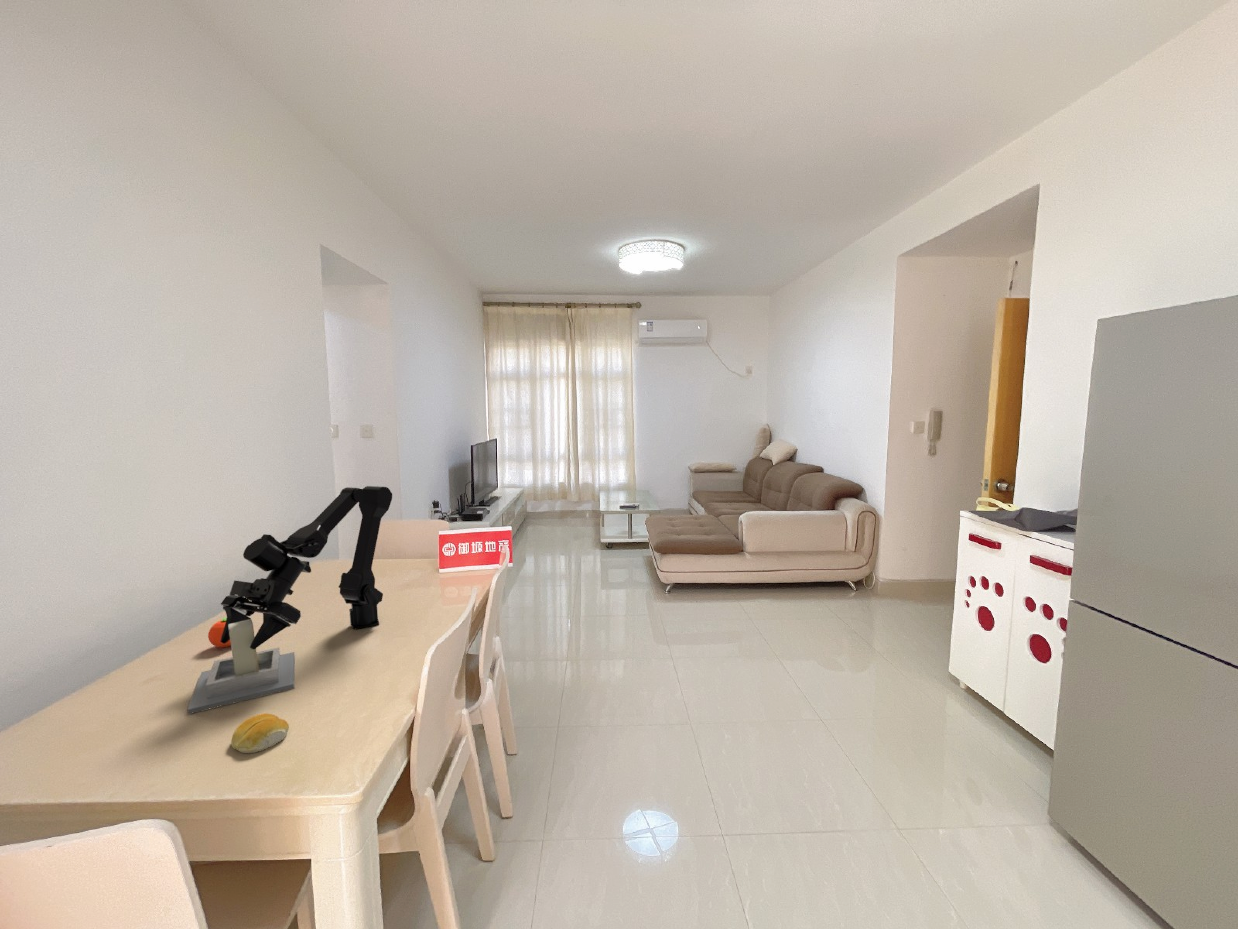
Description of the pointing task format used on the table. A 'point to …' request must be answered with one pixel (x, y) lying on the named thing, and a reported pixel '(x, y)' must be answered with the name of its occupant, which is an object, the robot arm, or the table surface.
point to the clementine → (218, 634)
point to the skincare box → (243, 647)
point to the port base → (285, 683)
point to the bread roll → (259, 733)
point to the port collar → (244, 681)
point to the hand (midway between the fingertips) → (236, 645)
